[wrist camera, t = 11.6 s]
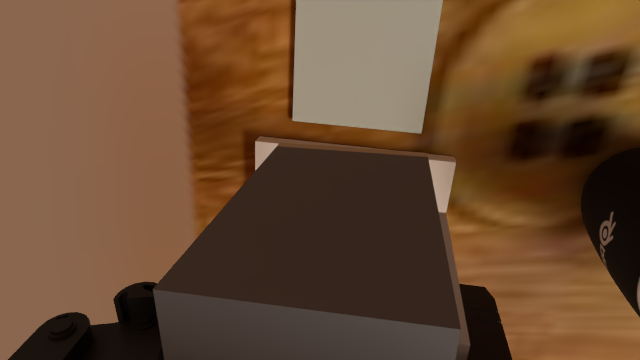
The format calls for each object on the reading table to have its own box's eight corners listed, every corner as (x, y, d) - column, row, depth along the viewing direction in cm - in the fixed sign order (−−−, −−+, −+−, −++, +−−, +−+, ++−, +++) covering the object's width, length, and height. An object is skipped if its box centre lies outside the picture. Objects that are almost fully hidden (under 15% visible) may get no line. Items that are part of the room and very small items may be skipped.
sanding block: (279, 142, 18) (152, 289, 9) (427, 152, 17) (461, 329, 8) (282, 298, 21) (191, 529, 12) (407, 314, 20) (414, 578, 11)
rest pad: (298, -37, 26) (297, -38, 26) (446, -30, 25) (447, -30, 25) (293, 119, 30) (292, 120, 30) (421, 131, 29) (421, 133, 29)
